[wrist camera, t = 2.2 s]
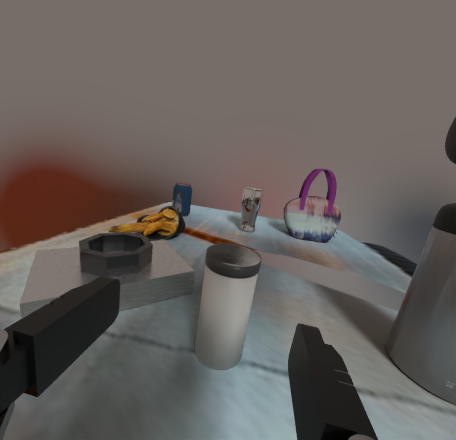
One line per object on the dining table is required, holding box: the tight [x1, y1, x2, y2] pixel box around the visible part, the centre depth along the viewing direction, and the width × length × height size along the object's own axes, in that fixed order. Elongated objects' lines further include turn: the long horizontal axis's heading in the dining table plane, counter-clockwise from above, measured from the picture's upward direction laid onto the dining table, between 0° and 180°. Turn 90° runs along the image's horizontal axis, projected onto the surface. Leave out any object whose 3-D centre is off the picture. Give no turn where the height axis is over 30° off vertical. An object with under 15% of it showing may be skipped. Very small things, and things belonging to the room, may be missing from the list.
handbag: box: [284, 169, 341, 242], centre depth 76 cm, size 21×10×25 cm, turn 88°
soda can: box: [172, 183, 192, 216], centre depth 82 cm, size 7×7×12 cm
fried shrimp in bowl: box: [109, 206, 185, 240], centre depth 53 cm, size 9×11×18 cm
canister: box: [195, 244, 261, 370], centre depth 23 cm, size 6×6×12 cm
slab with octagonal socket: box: [20, 232, 195, 319], centre depth 33 cm, size 20×14×7 cm
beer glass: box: [238, 187, 263, 232], centre depth 74 cm, size 7×7×15 cm
